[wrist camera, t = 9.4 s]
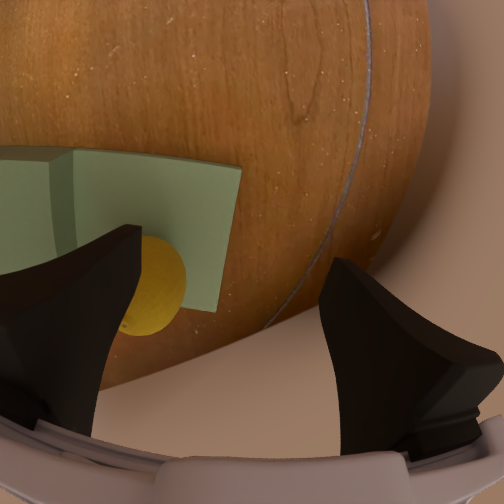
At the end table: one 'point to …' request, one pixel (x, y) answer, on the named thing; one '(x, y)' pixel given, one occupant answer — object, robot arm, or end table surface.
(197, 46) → the end table surface
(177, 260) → the lemon
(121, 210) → the step shelf
